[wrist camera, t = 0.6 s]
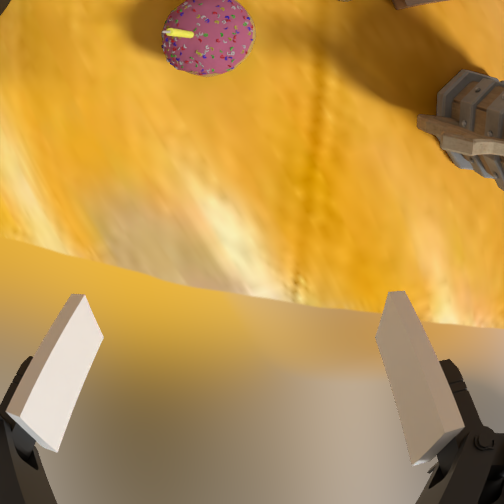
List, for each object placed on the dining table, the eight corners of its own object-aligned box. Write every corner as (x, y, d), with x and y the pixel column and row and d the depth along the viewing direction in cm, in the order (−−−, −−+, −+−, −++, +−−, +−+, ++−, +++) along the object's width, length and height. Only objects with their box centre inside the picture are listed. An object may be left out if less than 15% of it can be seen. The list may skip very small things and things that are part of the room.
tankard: (508, 83, 26) (590, 107, 14) (500, 169, 33) (570, 218, 20) (380, 54, 27) (454, 51, 15) (378, 160, 34) (439, 216, 21)
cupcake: (186, 86, 30) (151, 94, 20) (165, 18, 26) (121, -2, 16) (265, 63, 29) (267, 58, 19) (243, -6, 25) (235, -43, 14)
